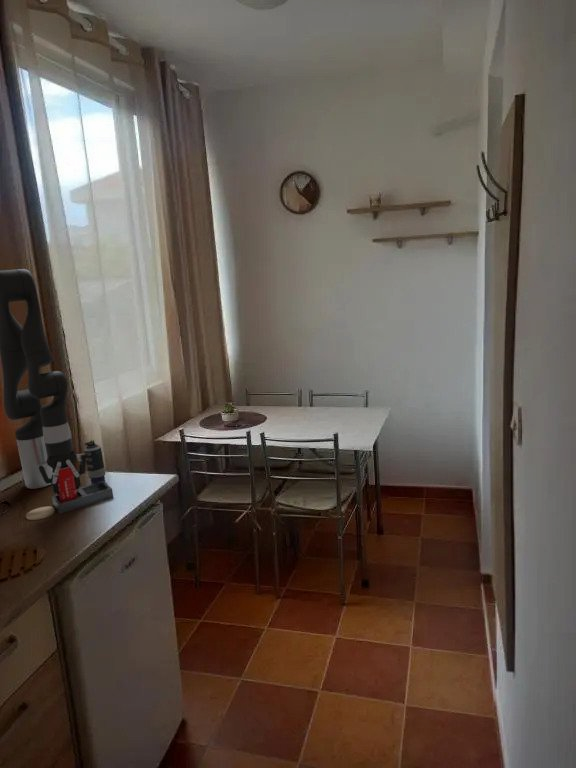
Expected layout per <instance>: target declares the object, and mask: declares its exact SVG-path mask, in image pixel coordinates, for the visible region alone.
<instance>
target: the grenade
mask: <svg viewBox="0 0 576 768" xmlns="http://www.w3.org/2000/svg"><path fill="white" fill-rule="evenodd" d="M82 442H83V440H80V443H79V444H80V446H82ZM84 446H85V447H84V449H83V452H84V453H83V454H85V455H86V465H85V466H86V469H87V475H88V478H89V479H90V485H91V484H95V483H98V482H102V481H104V482H105V483H106V479H105V478H106V477H105V476H106V469H105V464H104V457H103V452H102V447H101V445H99V444H97V443H95V439H94V440H93V439H92V440H90V441H87V442H84Z"/></svg>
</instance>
